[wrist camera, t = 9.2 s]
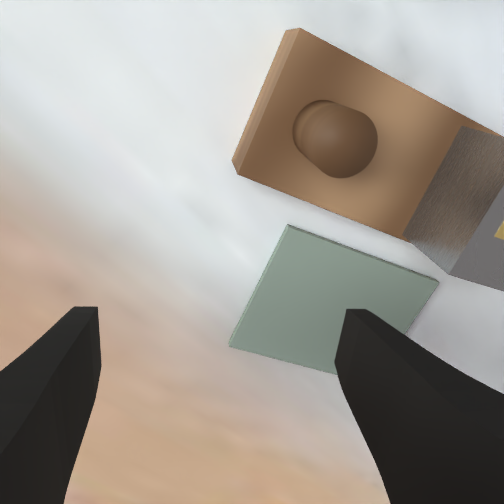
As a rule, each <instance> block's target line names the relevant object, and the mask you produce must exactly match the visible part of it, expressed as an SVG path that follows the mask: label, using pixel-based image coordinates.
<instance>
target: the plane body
mask: <svg viewBox="0 0 504 504" xmlns="http://www.w3.org/2000/svg"><path fill="white" fill-rule="evenodd" d="M461 126H465V127H468V128H472V129H476V130H479V131H483V132H486V133H490V134H494V135H497V136H501V135H499V134H497V133H495V132H494V131H492V130H490V129H488V128H486V127H484V126H482V125H481V124H479V123H477V122H475V121H473V120H471V119H469V118H467V117H466V116H464V115H462V114H460V113H458V112H456V111H454V110H453V109H451V108H449V107H447V106H445V105H443V104H441V103H439V102H438V101H436V100H434V99H432V98H430V97H428V96H426V95H425V94H423V93H421V92H419V91H417V90H415V89H413V88H411V87H410V86H408V85H406V84H404V83H402V82H400V81H398V80H397V79H395V78H393V77H391V76H389V75H387V74H385V73H383V72H382V71H380V70H378V69H376V68H374V67H372V66H370V65H369V64H367V63H365V62H363V61H361V60H359V59H357V58H355V57H354V56H352V55H350V54H348V53H346V52H344V51H342V50H341V49H339V48H337V47H335V46H333V45H331V44H329V43H328V42H326V41H324V40H322V39H320V38H318V37H316V36H314V35H313V34H311V33H309V32H307V31H305V30H303V29H301V28H297V29H291V30H286V31H285V34H284V36H283V38H282V41H281V43H280V46H279V48H278V50H277V53H276V55H275V58H274V60H273V62H272V65H271V67H270V70H269V72H268V74H267V77H266V79H265V82H264V84H263V86H262V89H261V91H260V94H259V96H258V98H257V101H256V103H255V106H254V108H253V110H252V113H251V115H250V118H249V120H248V122H247V125H246V127H245V130H244V132H243V134H242V137H241V139H240V142H239V144H238V146H237V149H236V151H235V154H234V156H233V158H232V162H233V165H234V167H235V169H236V172H237V174H238V175H241V176H243V177H246V178H248V179H251V180H253V181H256V182H258V183H261V184H263V185H266V186H268V187H271V188H273V189H276V190H278V191H281V192H284V193H286V194H289V195H291V196H294V197H296V198H299V199H301V200H304V201H306V202H309V203H311V204H314V205H316V206H319V207H321V208H324V209H326V210H329V211H331V212H334V213H336V214H339V215H341V216H344V217H347V218H349V219H352V220H354V221H357V222H359V223H362V224H364V225H367V226H369V227H372V228H374V229H377V230H379V231H382V232H384V233H387V234H389V235H392V236H394V237H397V238H399V239H402V240H404V241H407V242H410V241H409V240H408V239H407V238H405V237H404V236H403V235H402V234H403V232H404V230H405V228H406V226H407V224H408V223H409V221H410V219H411V217H412V215H413V213H414V212H415V210H416V208H417V206H418V204H419V202H420V201H421V199H422V197H423V195H424V193H425V191H426V190H427V188H428V186H429V184H430V182H431V181H432V179H433V177H434V175H435V173H436V171H437V170H438V168H439V166H440V164H441V162H442V160H443V159H444V157H445V155H446V153H447V151H448V149H449V148H450V146H451V144H452V142H453V140H454V138H455V137H456V135H457V133H458V131H459V129H460V127H461ZM501 137H503V136H501ZM410 243H411V242H410Z"/></svg>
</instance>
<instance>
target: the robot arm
mask: <svg viewBox="0 0 504 504" xmlns="http://www.w3.org/2000/svg"><path fill="white" fill-rule="evenodd" d="M334 364H335V367H336V371H337V374H338V378H339V381H340V384H341V387H342V390H343V393H344V395H345V398H346V400H347V402H348V404H349V406H350V409H351V411H352V413H353V415H354V417H355V419H356V422H357V424H358V426H359V428H360V430H361V432H362V434H363V437H364V439H365V441H366V443H367V445H368V447H369V449H370V451H371V454H372V456H373V458H374V460H375V463H376V465H377V467H378V470H379V472H380V475H381V477H382V480H383V483H384V486H385V489H386V492H387V494H388V497H389V500H390V503H391V504H504V394H502V393H500V392H498V391H496V390H494V389H492V388H490V387H488V386H487V385H485V384H483V383H481V382H479V381H477V380H475V379H474V378H472V377H470V376H468V375H466V374H464V373H463V372H461V371H459V370H457V369H456V368H454V367H453V366H451V365H449V364H448V363H446V362H444V361H443V360H441V359H440V358H438V357H436V356H435V355H433V354H432V353H430V352H429V351H427V350H426V349H424V348H423V347H421V346H420V345H418V344H417V343H415V342H414V341H413V340H411V339H410V338H408V337H407V336H405V335H404V334H402V333H401V332H400V331H398V330H397V329H395V328H394V327H393V326H391V325H390V324H388V323H387V322H385V321H384V320H382V319H381V318H380V317H378V316H377V315H375V314H373V313H372V312H370V311H368V310H367V309H346V313H345V318H344V322H343V326H342V330H341V335H340V339H339V343H338V347H337V352H336V356H335V360H334ZM100 371H101V351H100V335H99V319H98V307H73V308H72V309H71V310H70V311H69V312H67V313H66V314H65V315H64V316H63V317H62V318H61V319H60V320H59V321H58V322H57V323H56V324H55V325H54V326H53V327H51V328H50V329H49V330H48V331H47V332H46V333H45V334H44V335H43V336H42V337H41V338H39V339H38V340H37V341H36V342H35V343H34V344H33V345H32V346H30V347H29V348H28V349H27V350H26V351H25V352H24V353H22V354H21V355H20V356H19V357H18V358H16V359H15V360H14V361H13V362H11V363H10V364H9V365H8V366H6V367H5V368H4V369H3V370H1V371H0V504H64V499H65V495H66V491H67V487H68V484H69V480H70V477H71V473H72V470H73V467H74V464H75V461H76V458H77V455H78V452H79V449H80V446H81V442H82V439H83V436H84V433H85V430H86V427H87V424H88V421H89V418H90V414H91V411H92V408H93V405H94V402H95V398H96V393H97V388H98V382H99V377H100Z"/></svg>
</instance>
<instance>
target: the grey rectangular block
mask: <svg viewBox="0 0 504 504" xmlns="http://www.w3.org/2000/svg"><path fill="white" fill-rule="evenodd" d="M402 235H403V236H404V237H405V238H407V239H408V240H409V241H410V242H411V243H412V244H414V245H415V246H416V247H417V248H418V249H419V250H421V251H422V252H423V253H424V254H425V255H426V256H428V257H429V258H430V259H431V260H432V261H433V262H435V263H436V264H437V265H438V266H439V267H440V268H442V269H443V270H444V271H445V272H446V273H447V274H449V275H452V276H455V277H458V278H462V279H465V280H468V281H471V282H475V283H478V284H481V285H484V286H488V287H491V288H494V289H498V290H501V291H504V137H501V136H497V135H494V134H490V133H486V132H483V131H479V130H476V129H472V128H468V127H465V126H461V127H460V129H459V131H458V133H457V135H456V137H455V138H454V140H453V142H452V144H451V146H450V148H449V149H448V151H447V153H446V155H445V157H444V159H443V160H442V162H441V164H440V166H439V168H438V170H437V171H436V173H435V175H434V177H433V179H432V181H431V182H430V184H429V186H428V188H427V190H426V191H425V193H424V195H423V197H422V199H421V201H420V202H419V204H418V206H417V208H416V210H415V212H414V213H413V215H412V217H411V219H410V221H409V223H408V224H407V226H406V228H405V230H404V232H403V234H402Z"/></svg>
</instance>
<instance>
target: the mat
mask: <svg viewBox="0 0 504 504" xmlns="http://www.w3.org/2000/svg"><path fill="white" fill-rule="evenodd" d="M438 284H439V282H438V281H437V280H436V279H433V278H430V277H428V276H425V275H422V274H420V273H417V272H414V271H412V270H409V269H406V268H404V267H401V266H398V265H396V264H393V263H390V262H387V261H385V260H382V259H379V258H377V257H374V256H371V255H369V254H366V253H363V252H361V251H358V250H355V249H353V248H350V247H347V246H345V245H342V244H339V243H336V242H334V241H331V240H328V239H326V238H323V237H320V236H318V235H315V234H312V233H310V232H307V231H304V230H302V229H299V228H296V227H294V226H291V225H288V224H287V226H286V228H285V230H284V232H283V234H282V236H281V238H280V240H279V242H278V244H277V246H276V248H275V250H274V252H273V254H272V256H271V258H270V260H269V262H268V264H267V266H266V268H265V270H264V272H263V274H262V276H261V278H260V280H259V282H258V284H257V286H256V288H255V290H254V292H253V295H252V297H251V299H250V301H249V303H248V305H247V307H246V309H245V311H244V313H243V315H242V317H241V319H240V321H239V323H238V325H237V327H236V329H235V331H234V333H233V335H232V337H231V339H230V341H229V347H232V348H236V349H240V350H244V351H248V352H251V353H255V354H259V355H263V356H267V357H270V358H274V359H278V360H282V361H286V362H290V363H293V364H297V365H301V366H305V367H309V368H312V369H316V370H320V371H324V372H328V373H332V374H335V375H338V374H337V371H336V367H335V364H334V360H335V356H336V352H337V347H338V343H339V339H340V335H341V330H342V326H343V322H344V318H345V313H346V309H367V310H368V311H370V312H372V313H373V314H375V315H377V316H378V317H380V318H381V319H382V320H384V321H385V322H387V323H388V324H390V325H391V326H393V327H394V328H395V329H397V330H398V331H400V332H401V333H402V334H405V333H406V331H407V330H408V328H409V327H410V325H411V324H412V322H413V321H414V319H415V318H416V317H417V315H418V314H419V312H420V311H421V309H422V308H423V306H424V305H425V303H426V302H427V300H428V299H429V297H430V296H431V294H432V293H433V292H434V290H435V289H436V287H437V286H438Z"/></svg>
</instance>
